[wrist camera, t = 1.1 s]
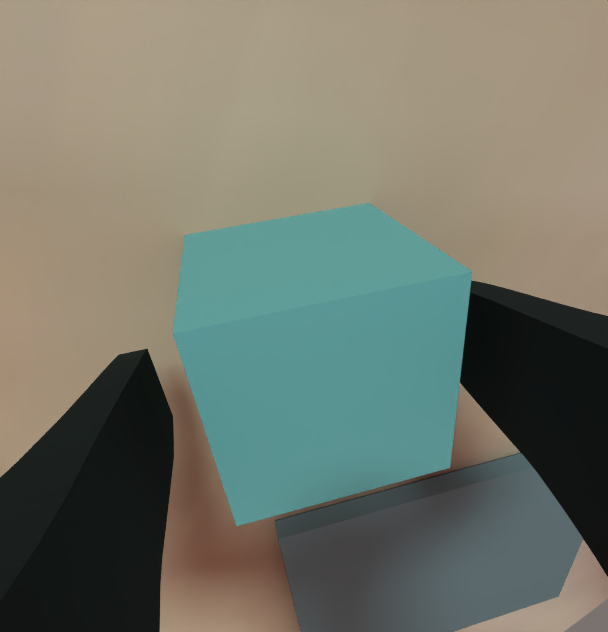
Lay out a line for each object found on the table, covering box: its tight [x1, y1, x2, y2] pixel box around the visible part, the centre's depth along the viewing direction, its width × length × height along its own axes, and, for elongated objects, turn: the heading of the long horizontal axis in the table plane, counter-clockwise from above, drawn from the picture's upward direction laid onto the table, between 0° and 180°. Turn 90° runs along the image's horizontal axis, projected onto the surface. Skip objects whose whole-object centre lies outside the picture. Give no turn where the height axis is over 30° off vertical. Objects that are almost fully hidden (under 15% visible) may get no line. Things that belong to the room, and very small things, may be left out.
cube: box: [173, 203, 472, 526], centre depth 10 cm, size 5×5×5 cm
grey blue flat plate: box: [275, 453, 583, 632], centre depth 21 cm, size 16×14×1 cm
